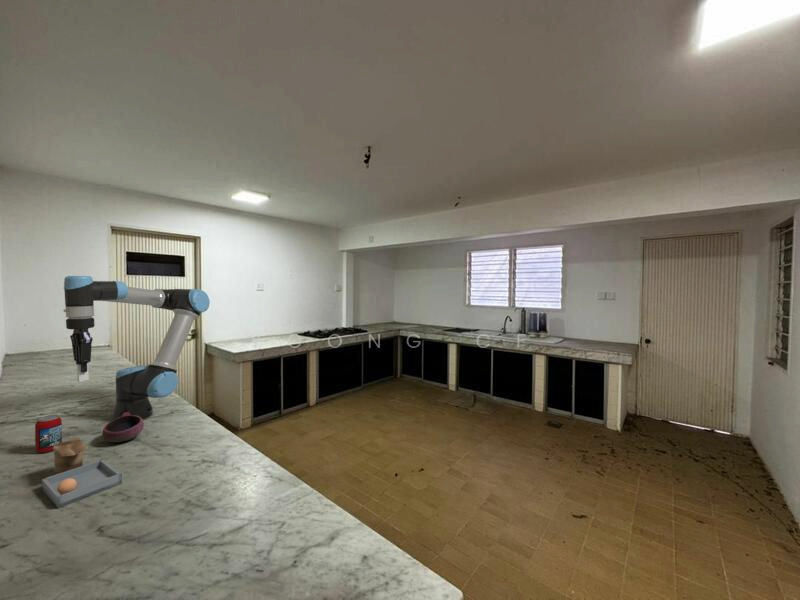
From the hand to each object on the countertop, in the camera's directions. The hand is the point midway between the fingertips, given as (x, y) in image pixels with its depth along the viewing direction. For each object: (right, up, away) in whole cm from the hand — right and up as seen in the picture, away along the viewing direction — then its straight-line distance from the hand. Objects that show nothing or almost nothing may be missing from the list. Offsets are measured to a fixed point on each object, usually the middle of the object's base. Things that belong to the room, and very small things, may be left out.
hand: (83, 380), depth 123 cm
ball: (+22, -24, -28) cm, 43 cm away
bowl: (+7, -26, +8) cm, 28 cm away
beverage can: (-12, -26, -1) cm, 28 cm away
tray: (+22, -27, -23) cm, 41 cm away
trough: (+12, -26, -17) cm, 34 cm away
